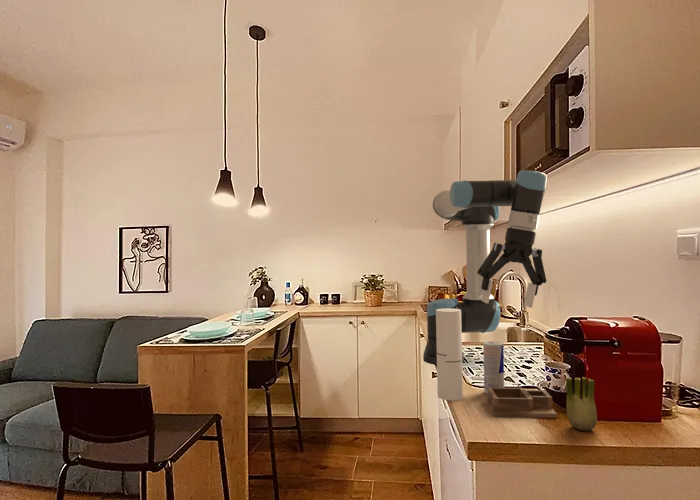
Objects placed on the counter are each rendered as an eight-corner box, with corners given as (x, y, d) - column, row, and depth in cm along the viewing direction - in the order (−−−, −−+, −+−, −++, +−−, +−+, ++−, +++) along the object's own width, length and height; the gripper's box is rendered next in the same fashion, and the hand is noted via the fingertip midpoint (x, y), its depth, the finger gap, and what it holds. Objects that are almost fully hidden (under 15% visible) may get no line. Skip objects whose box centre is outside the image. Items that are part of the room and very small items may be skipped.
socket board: (485, 399, 127) (485, 385, 127) (541, 400, 126) (540, 386, 126) (495, 416, 115) (494, 400, 115) (557, 417, 113) (556, 401, 113)
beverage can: (506, 397, 129) (504, 344, 129) (485, 396, 130) (484, 344, 130) (502, 391, 135) (501, 340, 135) (483, 390, 136) (482, 340, 136)
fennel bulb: (564, 427, 107) (563, 376, 107) (575, 422, 110) (574, 373, 110) (589, 435, 102) (588, 382, 102) (600, 429, 105) (599, 378, 105)
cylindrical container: (444, 391, 136) (443, 307, 136) (467, 395, 132) (465, 309, 132) (433, 397, 131) (431, 310, 131) (456, 402, 126) (454, 312, 126)
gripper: (488, 224, 116) (472, 304, 119) (570, 236, 122) (553, 311, 125) (473, 221, 123) (459, 296, 126) (551, 232, 130) (536, 304, 132)
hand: (506, 304), depth 126 cm, fingers open, 13 cm apart
